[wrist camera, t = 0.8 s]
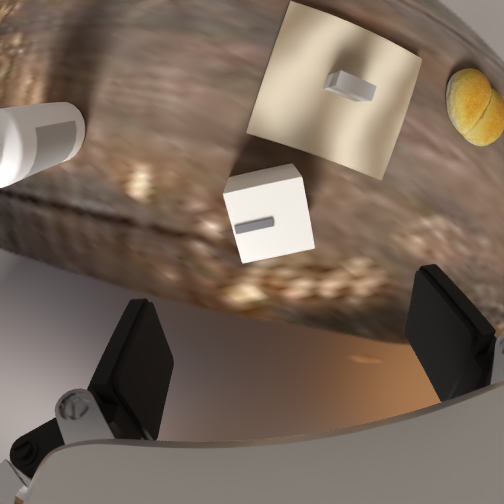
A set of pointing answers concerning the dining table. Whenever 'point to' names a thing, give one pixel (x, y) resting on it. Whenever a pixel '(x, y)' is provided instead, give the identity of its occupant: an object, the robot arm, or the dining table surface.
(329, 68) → the beige square plate
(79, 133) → the white plastic bottle
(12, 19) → the dining table surface
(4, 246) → the dining table surface
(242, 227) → the white slotted cube
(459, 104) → the bread roll
